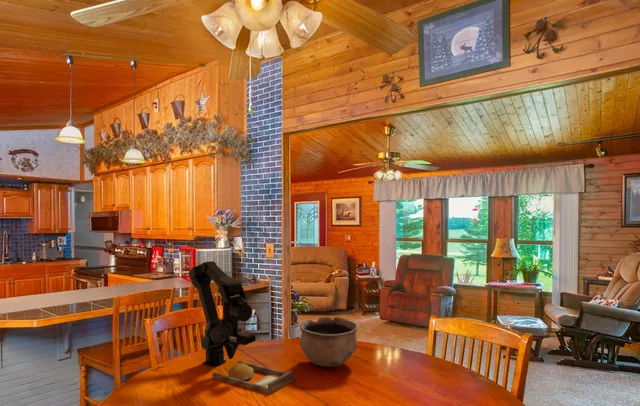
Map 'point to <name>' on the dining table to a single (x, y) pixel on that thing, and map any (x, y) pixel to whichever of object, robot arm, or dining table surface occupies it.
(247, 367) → the bread roll
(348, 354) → the ceramic bowl
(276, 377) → the brown open frame
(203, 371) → the dining table surface
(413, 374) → the dining table surface
